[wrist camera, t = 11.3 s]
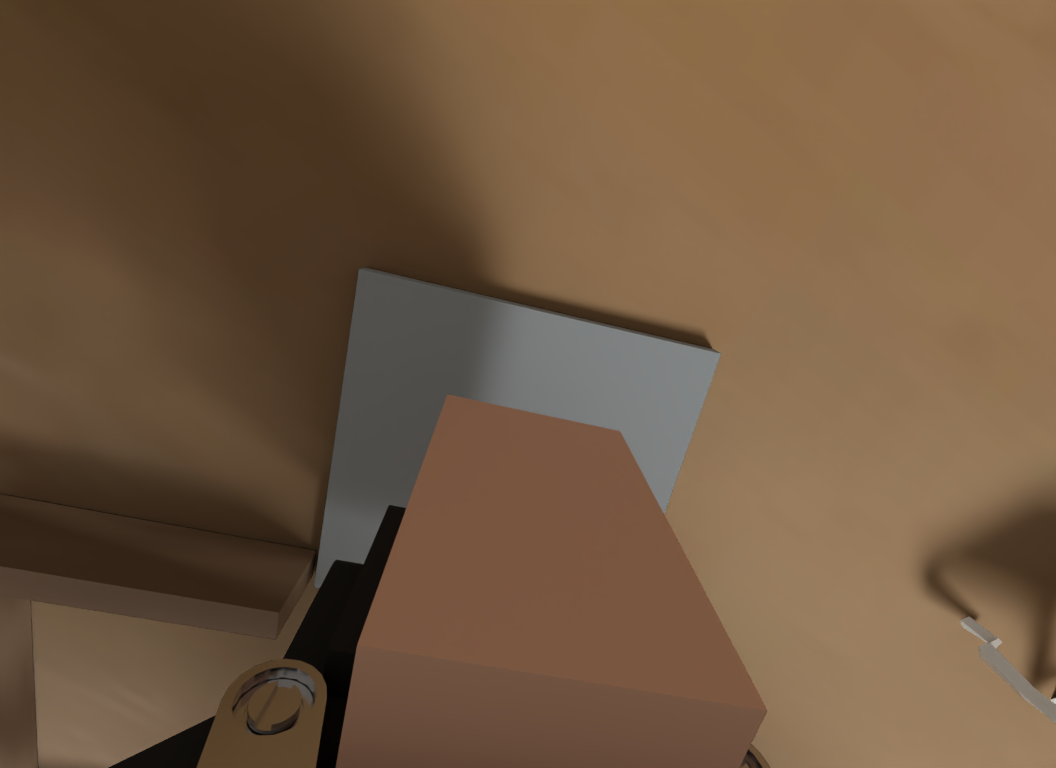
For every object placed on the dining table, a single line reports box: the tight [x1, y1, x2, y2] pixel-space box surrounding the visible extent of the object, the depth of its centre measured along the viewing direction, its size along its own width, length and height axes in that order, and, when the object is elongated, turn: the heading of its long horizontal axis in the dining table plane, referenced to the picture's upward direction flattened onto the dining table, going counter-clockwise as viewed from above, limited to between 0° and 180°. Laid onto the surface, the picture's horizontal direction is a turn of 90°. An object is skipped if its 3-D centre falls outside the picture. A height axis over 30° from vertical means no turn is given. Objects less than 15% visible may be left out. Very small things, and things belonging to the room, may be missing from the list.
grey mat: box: [314, 267, 721, 588], centre depth 17 cm, size 11×11×1 cm
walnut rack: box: [0, 494, 316, 768], centre depth 18 cm, size 15×10×3 cm
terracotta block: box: [336, 394, 767, 768], centre depth 9 cm, size 4×8×7 cm, turn 166°
